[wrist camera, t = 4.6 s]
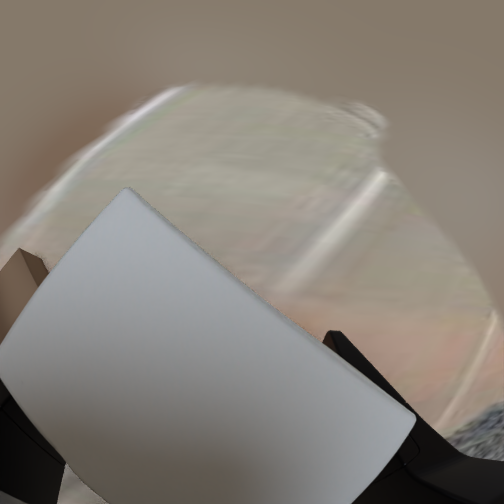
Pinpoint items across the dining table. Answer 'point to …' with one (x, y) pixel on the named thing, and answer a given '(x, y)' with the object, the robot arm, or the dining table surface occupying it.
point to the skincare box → (188, 378)
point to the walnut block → (18, 286)
